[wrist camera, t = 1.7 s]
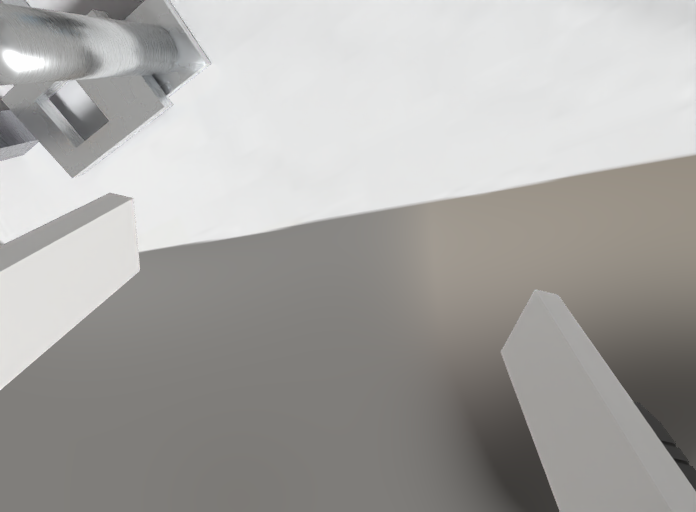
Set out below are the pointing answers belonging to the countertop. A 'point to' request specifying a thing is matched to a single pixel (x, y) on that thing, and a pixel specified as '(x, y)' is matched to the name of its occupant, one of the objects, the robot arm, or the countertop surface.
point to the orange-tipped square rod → (14, 136)
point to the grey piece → (94, 72)
